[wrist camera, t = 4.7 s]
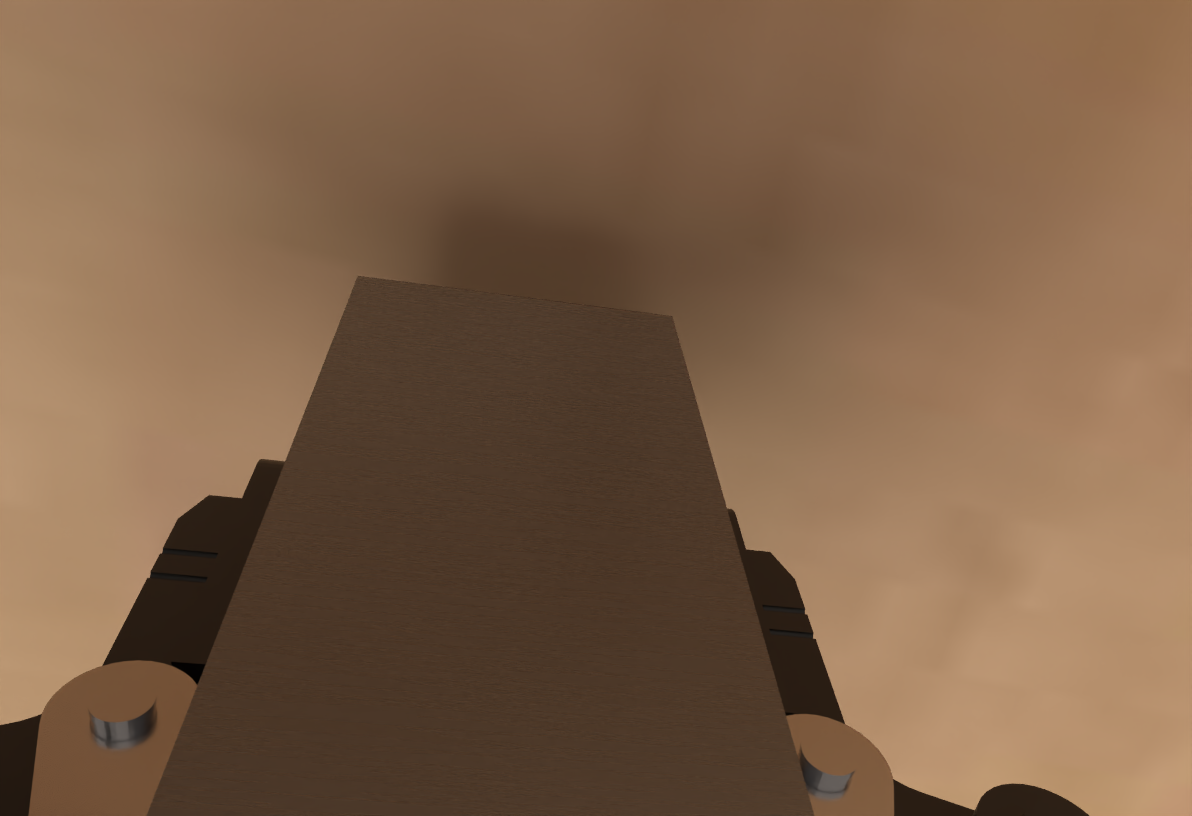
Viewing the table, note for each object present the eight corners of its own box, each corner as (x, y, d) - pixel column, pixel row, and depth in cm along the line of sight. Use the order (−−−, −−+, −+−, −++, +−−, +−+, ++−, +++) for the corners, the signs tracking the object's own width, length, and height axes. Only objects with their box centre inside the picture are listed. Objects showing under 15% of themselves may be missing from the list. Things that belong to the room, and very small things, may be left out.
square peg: (358, 276, 14) (83, 978, 6) (672, 315, 15) (870, 1013, 6) (343, 536, 16) (126, 1346, 8) (619, 563, 17) (712, 1347, 8)
